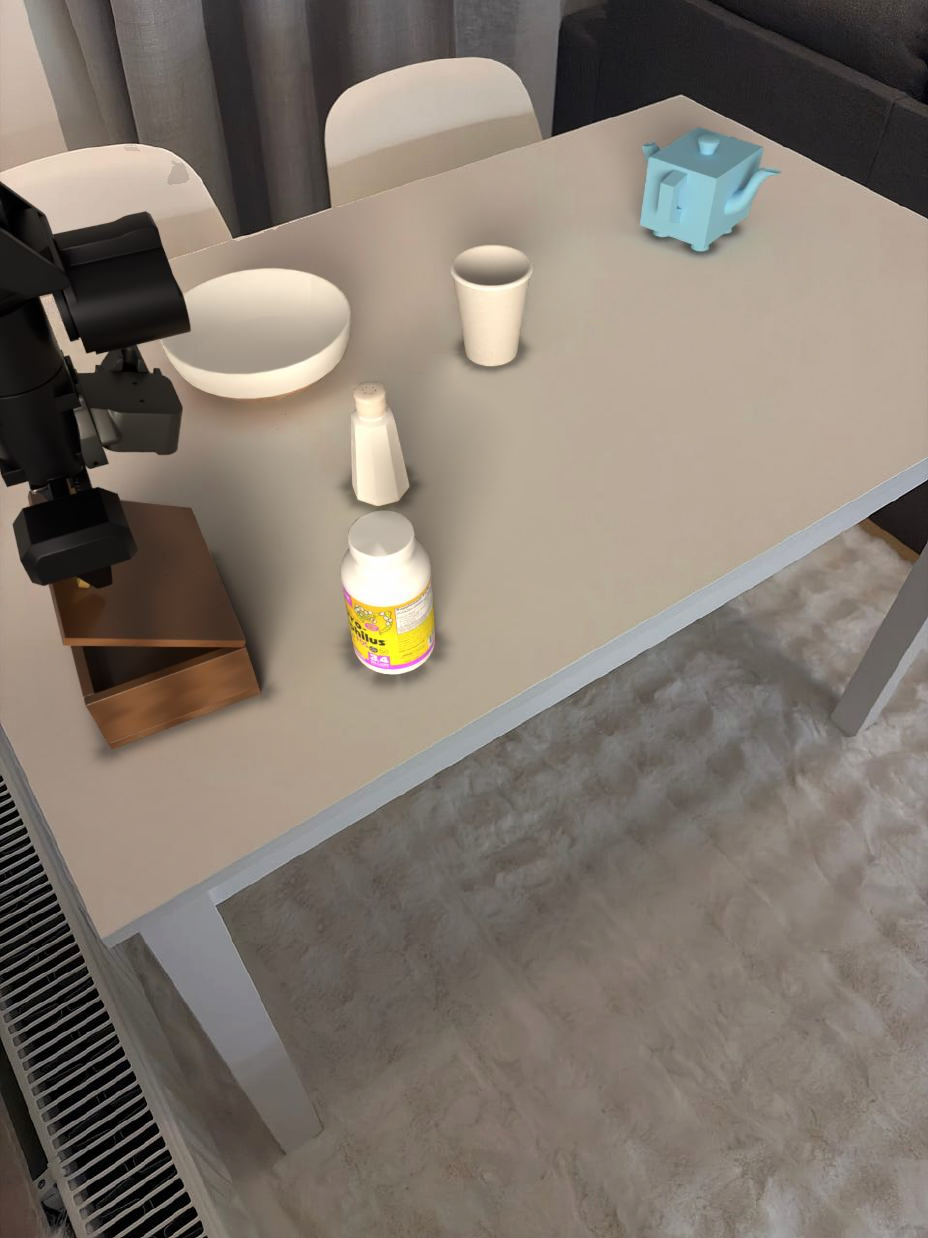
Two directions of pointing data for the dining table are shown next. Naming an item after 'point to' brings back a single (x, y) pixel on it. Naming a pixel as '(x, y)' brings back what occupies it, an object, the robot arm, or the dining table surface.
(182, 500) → the dining table surface
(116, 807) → the dining table surface
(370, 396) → the salt shaker
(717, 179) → the teapot
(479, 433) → the dining table surface
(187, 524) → the lid
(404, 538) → the supplement bottle
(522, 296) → the dixie cup
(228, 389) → the bowl
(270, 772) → the dining table surface
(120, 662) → the chest
